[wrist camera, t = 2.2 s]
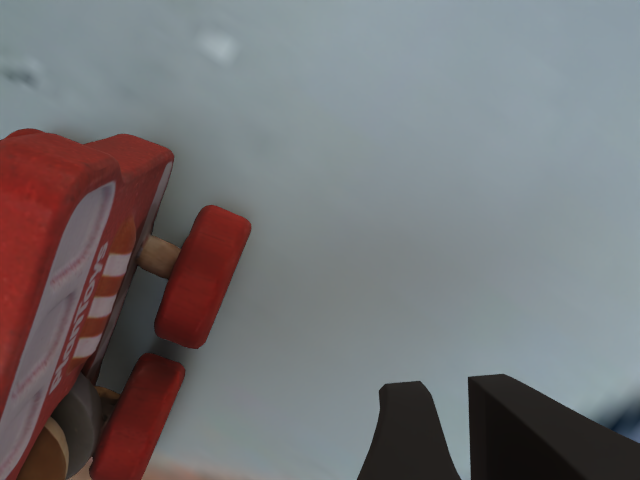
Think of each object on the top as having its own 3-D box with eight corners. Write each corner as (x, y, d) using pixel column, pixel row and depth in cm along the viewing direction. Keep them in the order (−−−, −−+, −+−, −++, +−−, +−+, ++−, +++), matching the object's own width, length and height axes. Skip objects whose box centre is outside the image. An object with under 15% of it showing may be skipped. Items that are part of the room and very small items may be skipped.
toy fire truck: (-53, 418, 20) (-418, 735, 10) (68, 75, 18) (-252, 37, 8) (139, 490, 21) (-19, 853, 11) (280, 171, 19) (247, 252, 8)
